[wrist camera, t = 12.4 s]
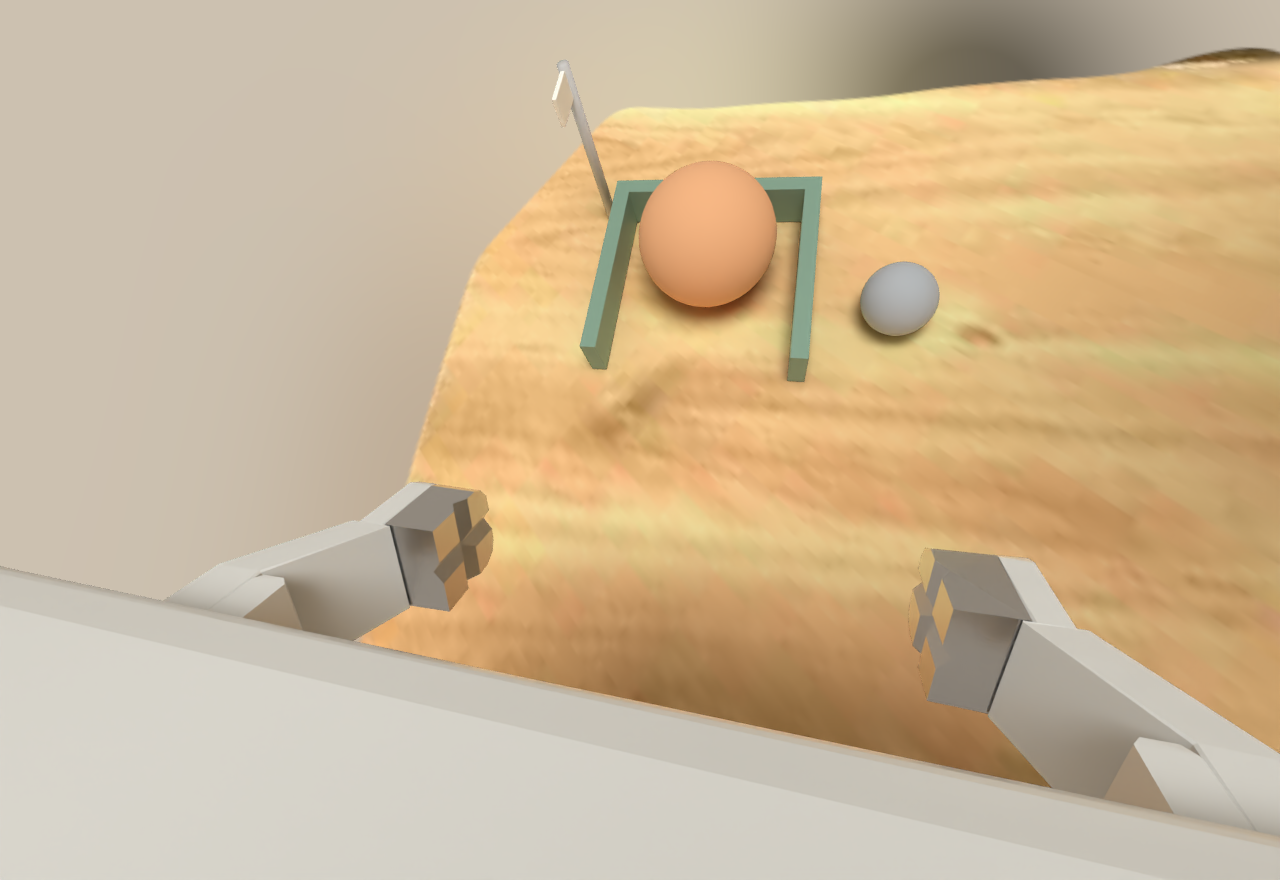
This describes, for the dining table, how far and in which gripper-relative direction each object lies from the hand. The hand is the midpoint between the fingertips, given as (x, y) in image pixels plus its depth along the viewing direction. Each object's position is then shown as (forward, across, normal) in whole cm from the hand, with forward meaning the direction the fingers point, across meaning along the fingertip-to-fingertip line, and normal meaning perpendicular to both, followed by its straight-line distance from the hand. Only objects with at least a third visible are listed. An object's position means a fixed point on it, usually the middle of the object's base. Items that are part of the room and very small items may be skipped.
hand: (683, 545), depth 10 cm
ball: (+34, +5, -3) cm, 35 cm away
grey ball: (+34, -9, +1) cm, 35 cm away
